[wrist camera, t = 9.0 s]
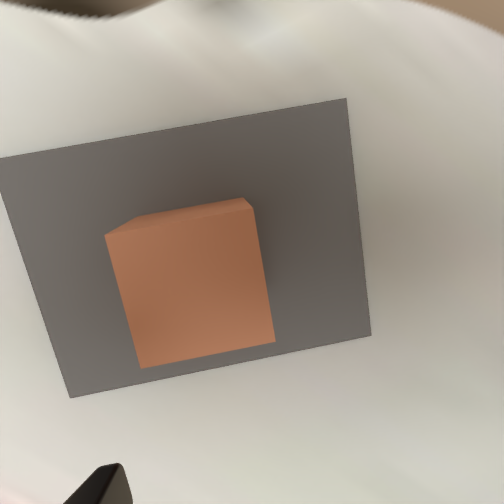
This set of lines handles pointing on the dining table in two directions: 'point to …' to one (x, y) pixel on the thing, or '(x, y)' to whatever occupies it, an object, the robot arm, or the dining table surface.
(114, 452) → the dining table surface
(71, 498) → the robot arm
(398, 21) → the dining table surface
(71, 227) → the mat
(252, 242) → the block
